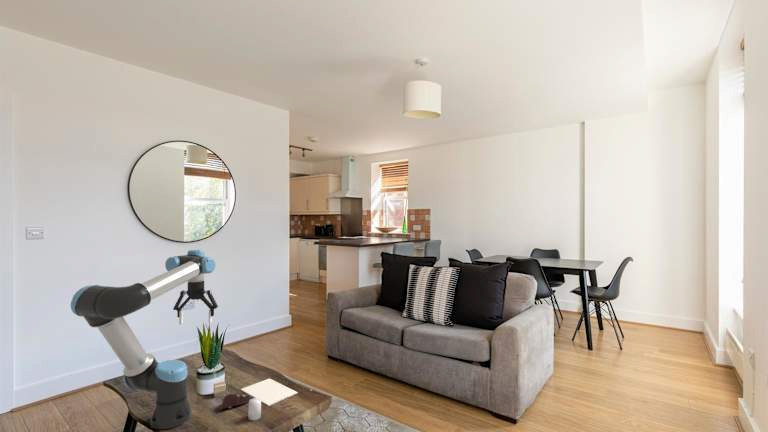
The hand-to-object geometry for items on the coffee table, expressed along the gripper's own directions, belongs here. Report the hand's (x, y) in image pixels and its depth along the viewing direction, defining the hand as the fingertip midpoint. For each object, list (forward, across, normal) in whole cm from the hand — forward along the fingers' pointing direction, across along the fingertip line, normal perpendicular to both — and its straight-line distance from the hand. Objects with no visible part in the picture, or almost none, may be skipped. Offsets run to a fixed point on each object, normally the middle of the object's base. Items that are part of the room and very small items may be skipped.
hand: (195, 323), depth 188 cm
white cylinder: (+32, -34, +34) cm, 58 cm away
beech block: (+32, -14, +10) cm, 36 cm away
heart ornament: (+32, -24, +27) cm, 48 cm away
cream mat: (+32, -37, +11) cm, 50 cm away
